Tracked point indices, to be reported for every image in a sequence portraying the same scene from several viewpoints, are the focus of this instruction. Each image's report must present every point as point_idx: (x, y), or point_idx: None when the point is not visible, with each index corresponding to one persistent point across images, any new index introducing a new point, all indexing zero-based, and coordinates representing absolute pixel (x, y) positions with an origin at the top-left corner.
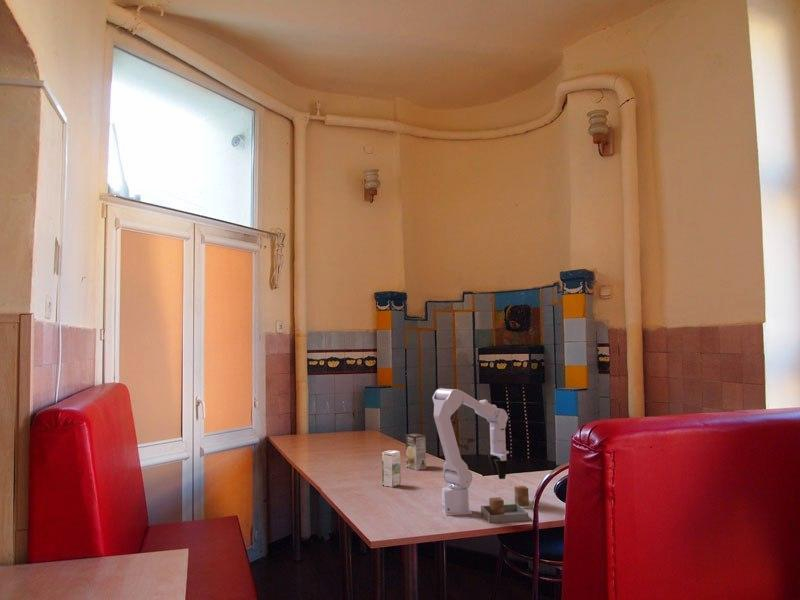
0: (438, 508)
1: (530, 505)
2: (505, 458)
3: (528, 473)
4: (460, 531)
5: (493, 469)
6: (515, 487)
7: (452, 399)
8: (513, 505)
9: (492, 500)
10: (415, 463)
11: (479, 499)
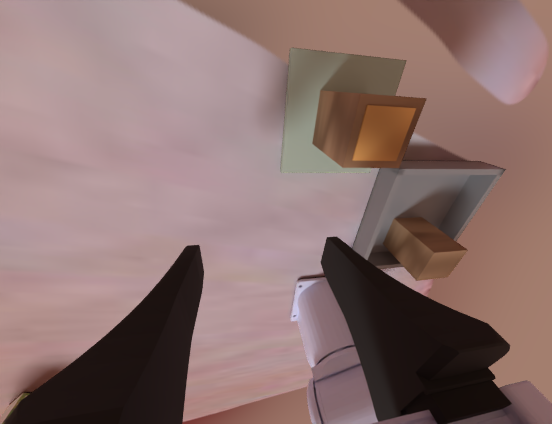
0: (275, 322)
1: (372, 86)
2: (550, 414)
3: None
4: (426, 295)
5: (197, 305)
6: (362, 167)
7: None
8: (396, 183)
9: (445, 276)
10: None
11: (205, 242)
